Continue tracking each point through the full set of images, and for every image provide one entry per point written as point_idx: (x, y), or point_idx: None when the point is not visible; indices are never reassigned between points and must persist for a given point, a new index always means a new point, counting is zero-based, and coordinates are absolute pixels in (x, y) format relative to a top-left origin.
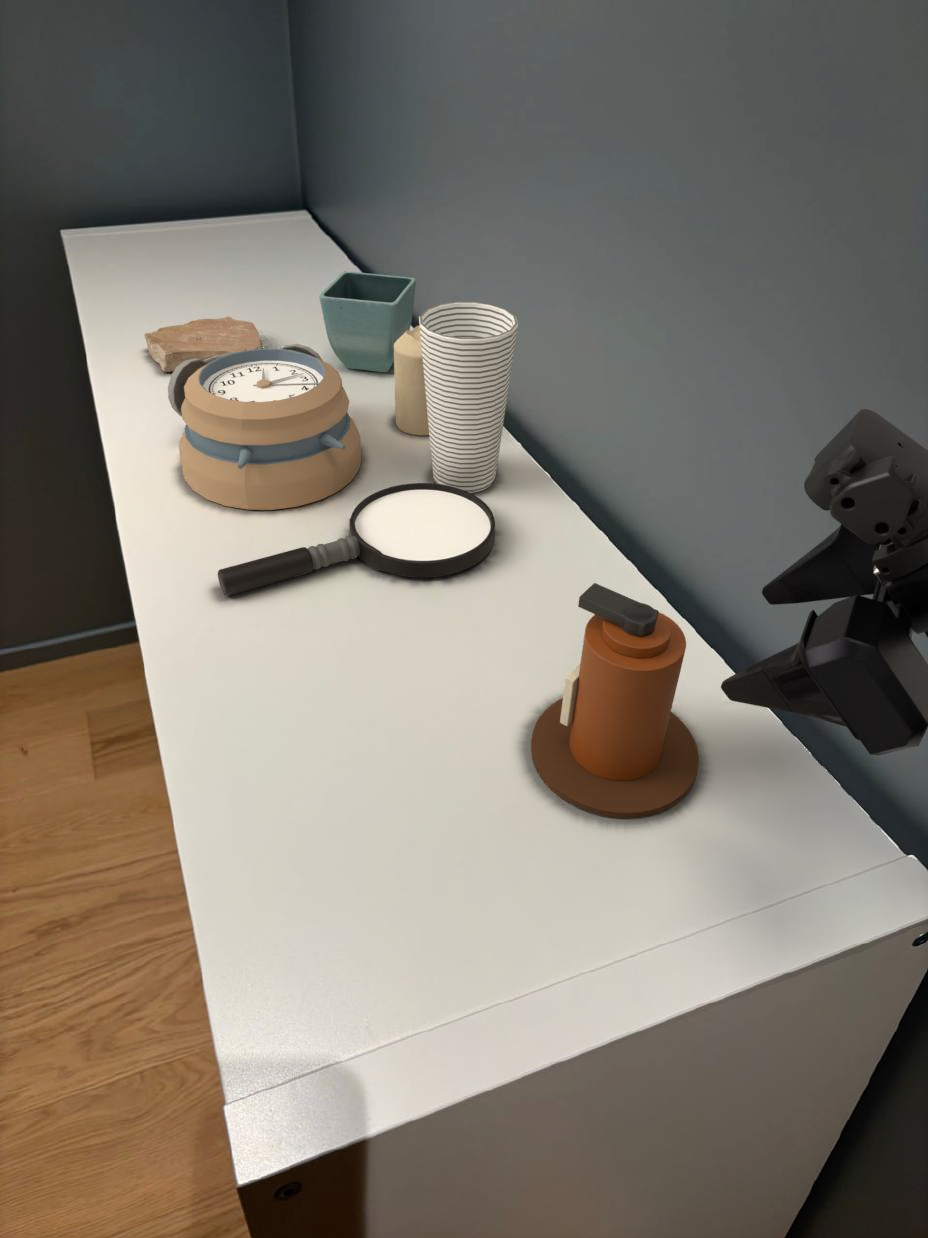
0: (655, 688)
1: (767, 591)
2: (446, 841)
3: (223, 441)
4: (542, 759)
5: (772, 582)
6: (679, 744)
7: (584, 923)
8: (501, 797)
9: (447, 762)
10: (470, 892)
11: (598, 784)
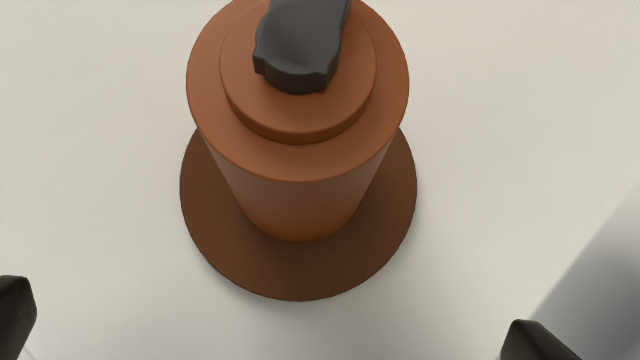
0: (219, 163)
1: (517, 337)
2: (85, 41)
3: None
4: None
5: (544, 346)
6: (342, 264)
7: (11, 219)
8: (171, 75)
9: (203, 4)
10: (22, 87)
11: (221, 175)
